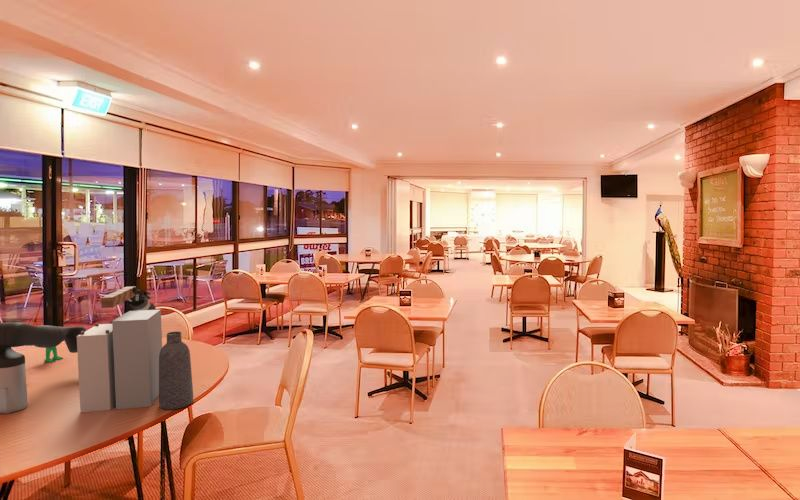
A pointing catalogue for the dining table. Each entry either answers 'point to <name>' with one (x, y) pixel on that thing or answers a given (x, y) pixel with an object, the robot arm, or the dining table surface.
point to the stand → (120, 362)
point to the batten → (117, 297)
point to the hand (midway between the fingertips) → (127, 289)
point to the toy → (49, 354)
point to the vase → (175, 374)
